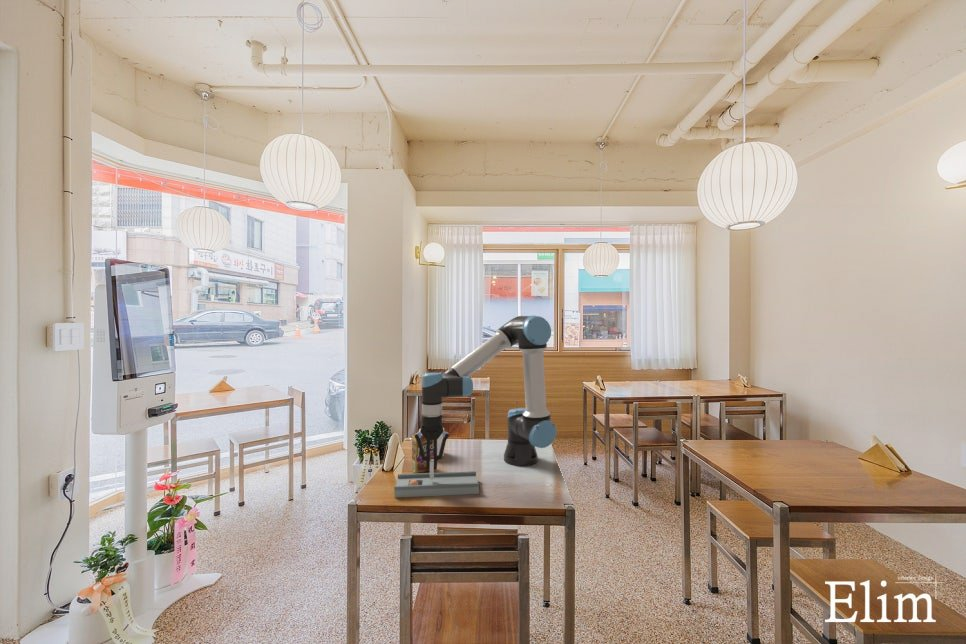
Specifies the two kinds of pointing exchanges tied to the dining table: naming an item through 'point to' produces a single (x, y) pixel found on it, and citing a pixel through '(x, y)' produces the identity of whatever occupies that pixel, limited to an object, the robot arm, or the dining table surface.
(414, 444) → the candy box
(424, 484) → the board
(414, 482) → the ball
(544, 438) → the robot arm
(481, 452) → the dining table surface
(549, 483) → the dining table surface
